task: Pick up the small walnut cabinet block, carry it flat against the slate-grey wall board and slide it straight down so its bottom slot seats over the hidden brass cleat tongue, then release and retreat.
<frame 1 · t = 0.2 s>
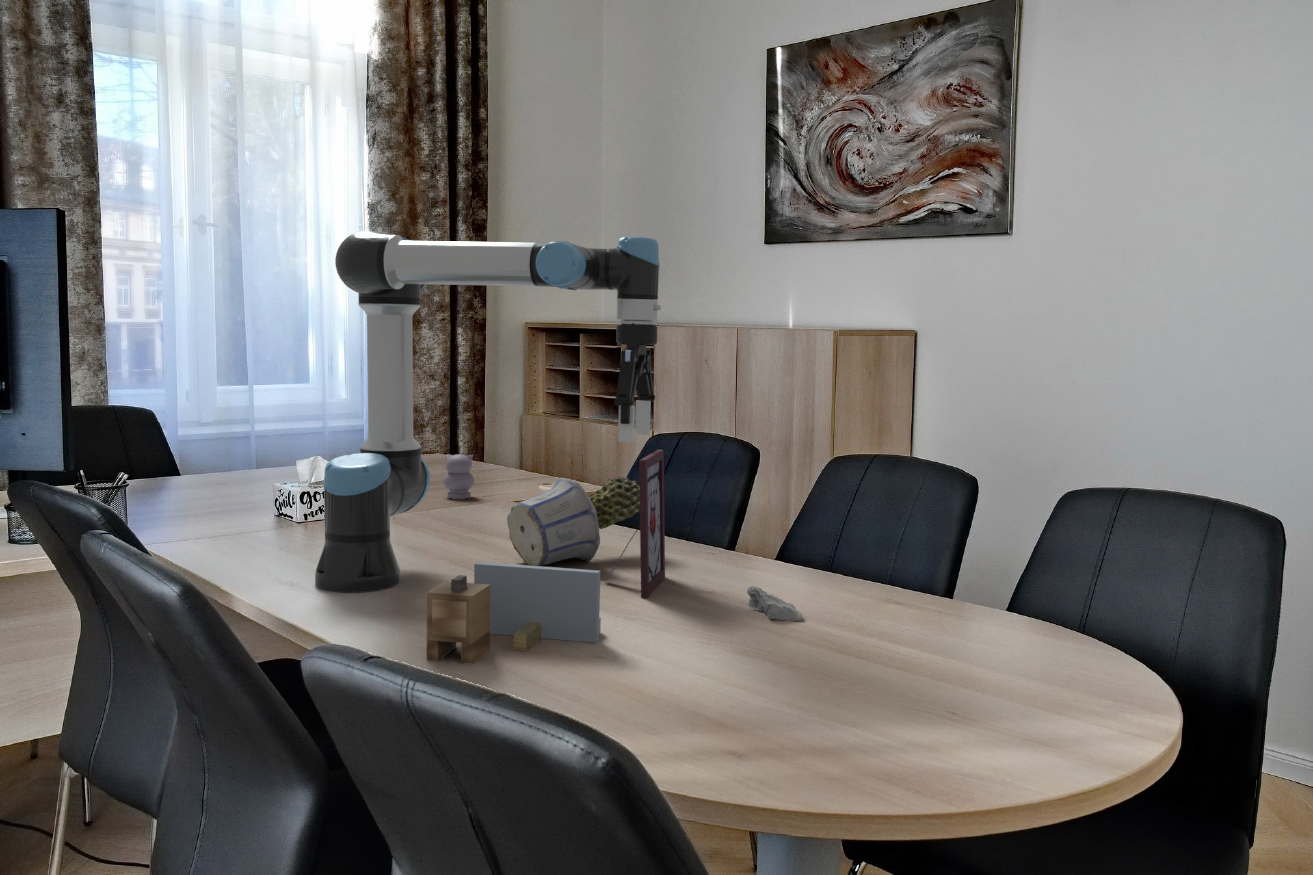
hand: (634, 438, 198), 28 cm above the table, fingers open, 13 cm apart
potted plant: (581, 559, 223), on the table
cat figurine: (458, 498, 295), on the table
wall board: (536, 636, 168), on the table
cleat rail: (527, 643, 164), on the table
stone: (773, 616, 184), on the table
cabinet block: (458, 654, 158), on the table
picture frame: (631, 586, 201), on the table
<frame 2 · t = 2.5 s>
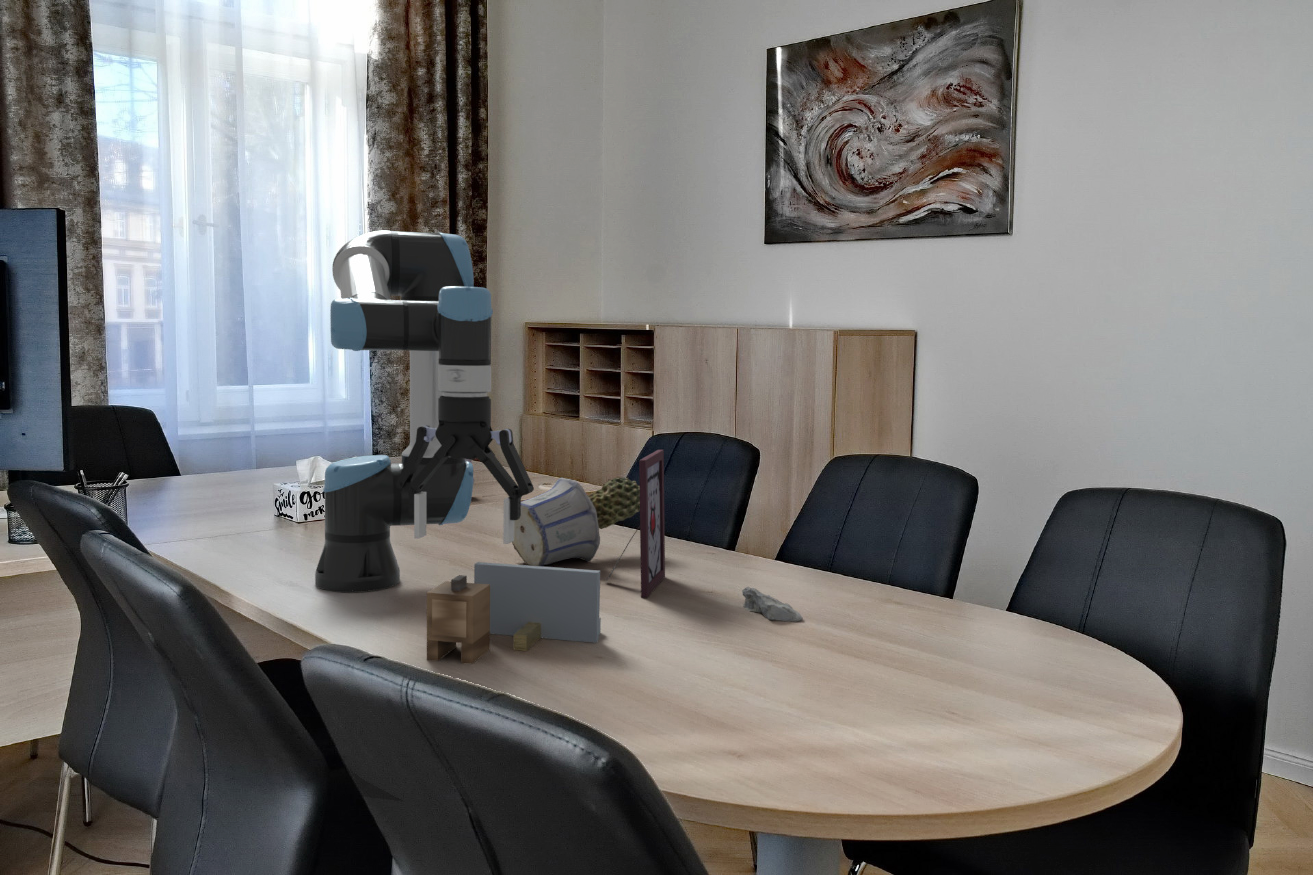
hand: (464, 539, 157), 17 cm above the table, fingers open, 13 cm apart
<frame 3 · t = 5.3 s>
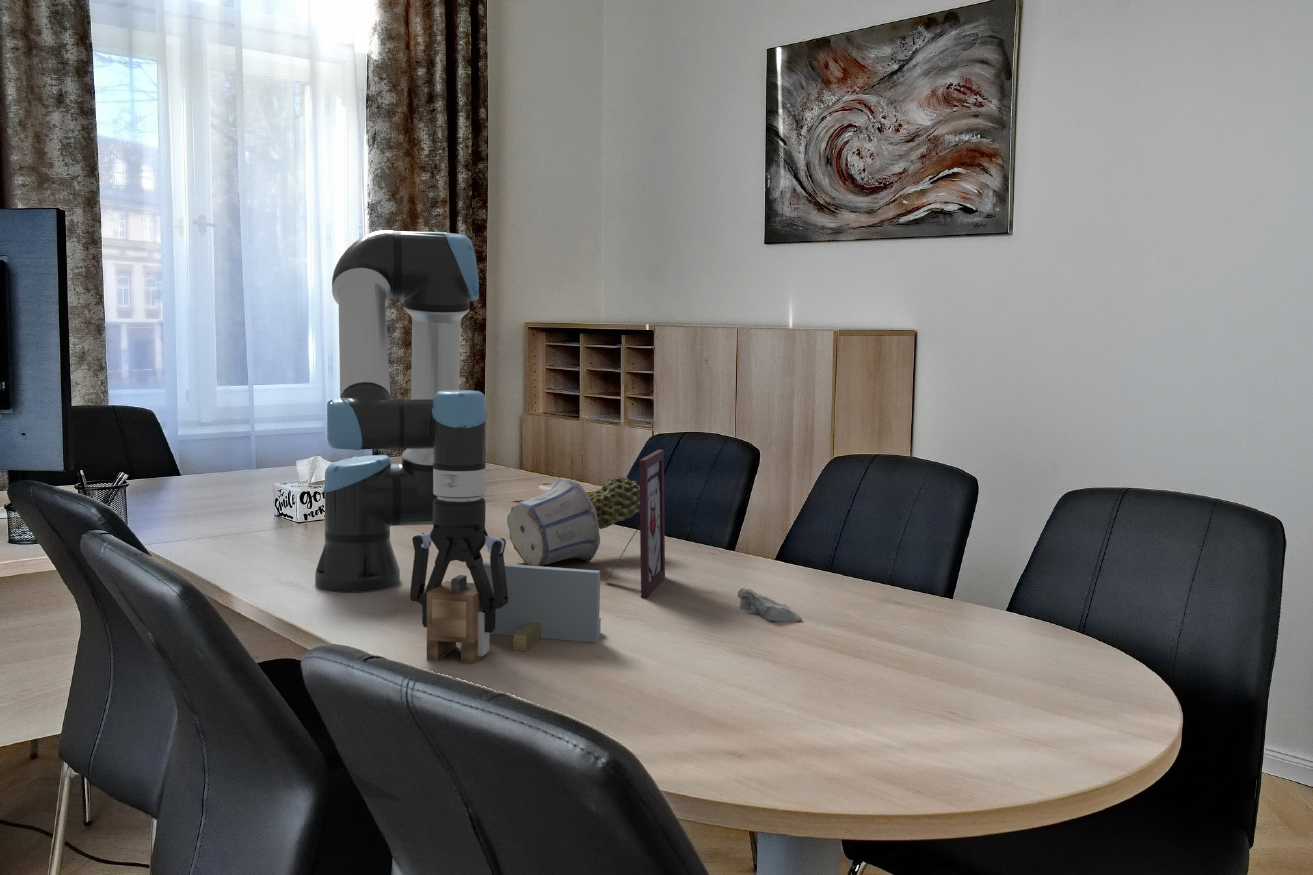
hand: (458, 650, 158), 1 cm above the table, fingers closed on cabinet block, 7 cm apart
cabinet block: (458, 654, 158), on the table, touching gripper
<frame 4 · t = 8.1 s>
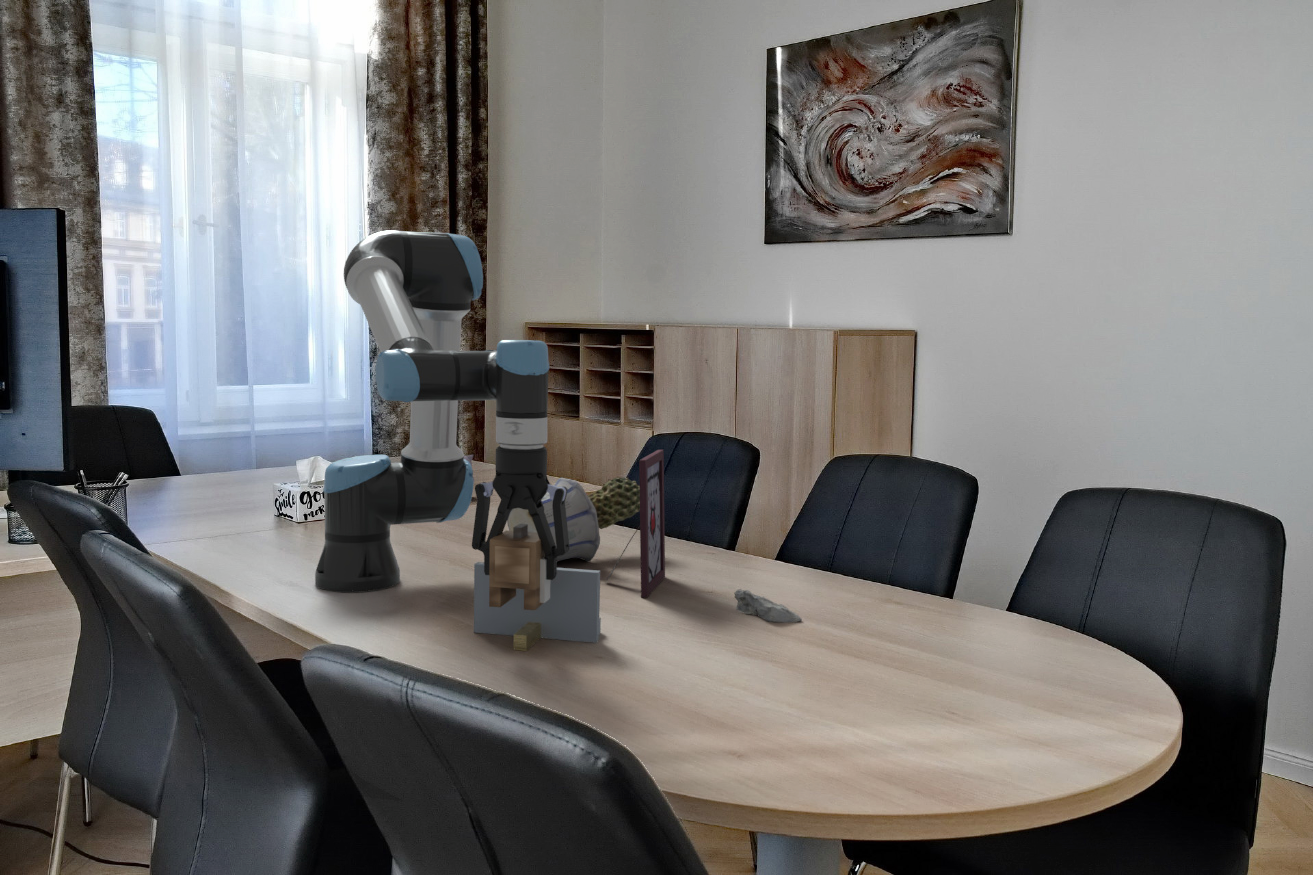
hand: (519, 598, 159), 8 cm above the table, fingers closed on cabinet block, 7 cm apart
cabinet block: (519, 602, 159), point 7 cm above the table, touching gripper
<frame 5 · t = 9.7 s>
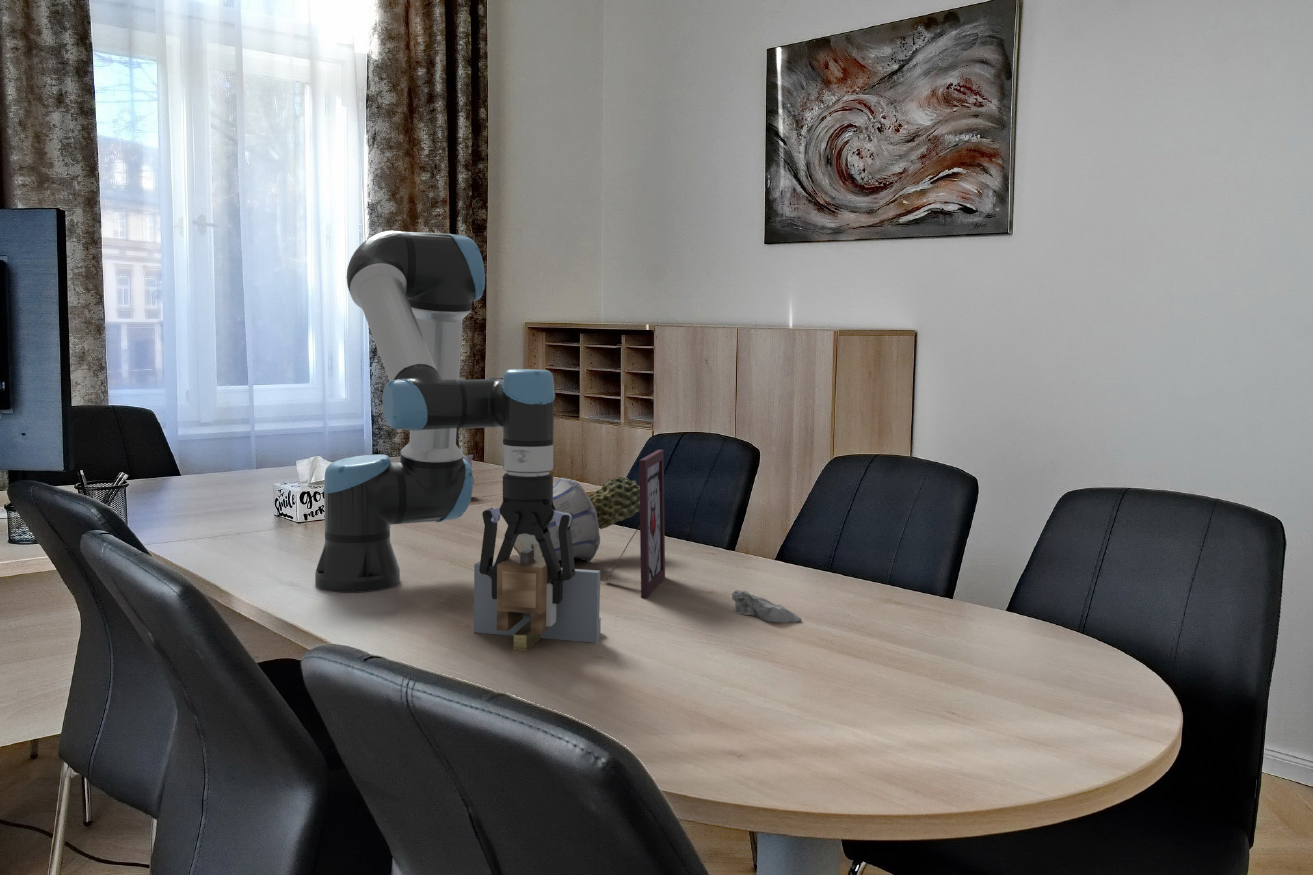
hand: (526, 621, 163), 4 cm above the table, fingers closed on cabinet block, 7 cm apart
cabinet block: (526, 625, 163), point 3 cm above the table, touching gripper
when the fingers open (1 cm above the table, at t = 11.2 s): cabinet block stays where it is, on the table.
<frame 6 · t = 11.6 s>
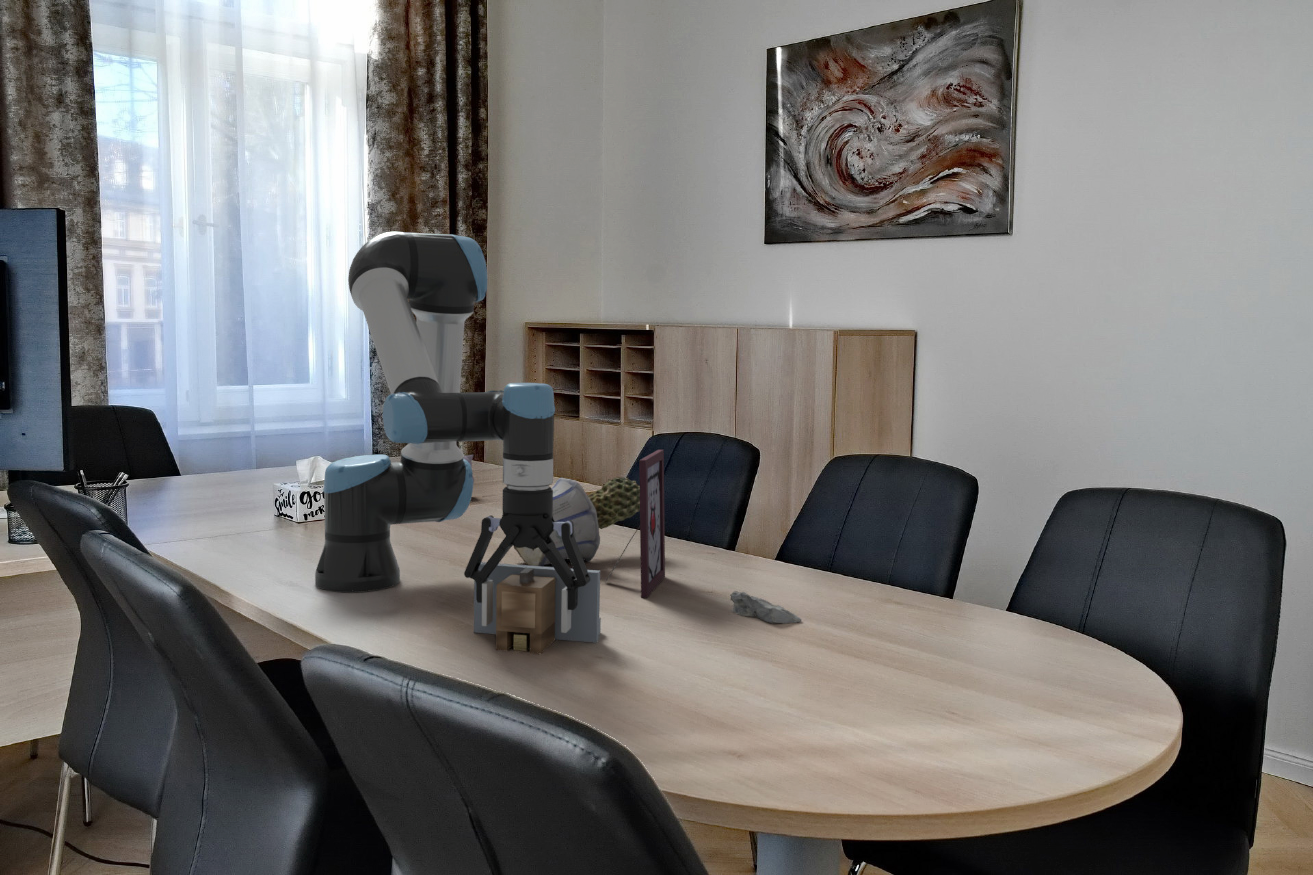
hand: (526, 627, 163), 3 cm above the table, fingers open, 12 cm apart
cabinet block: (525, 645, 163), on the table
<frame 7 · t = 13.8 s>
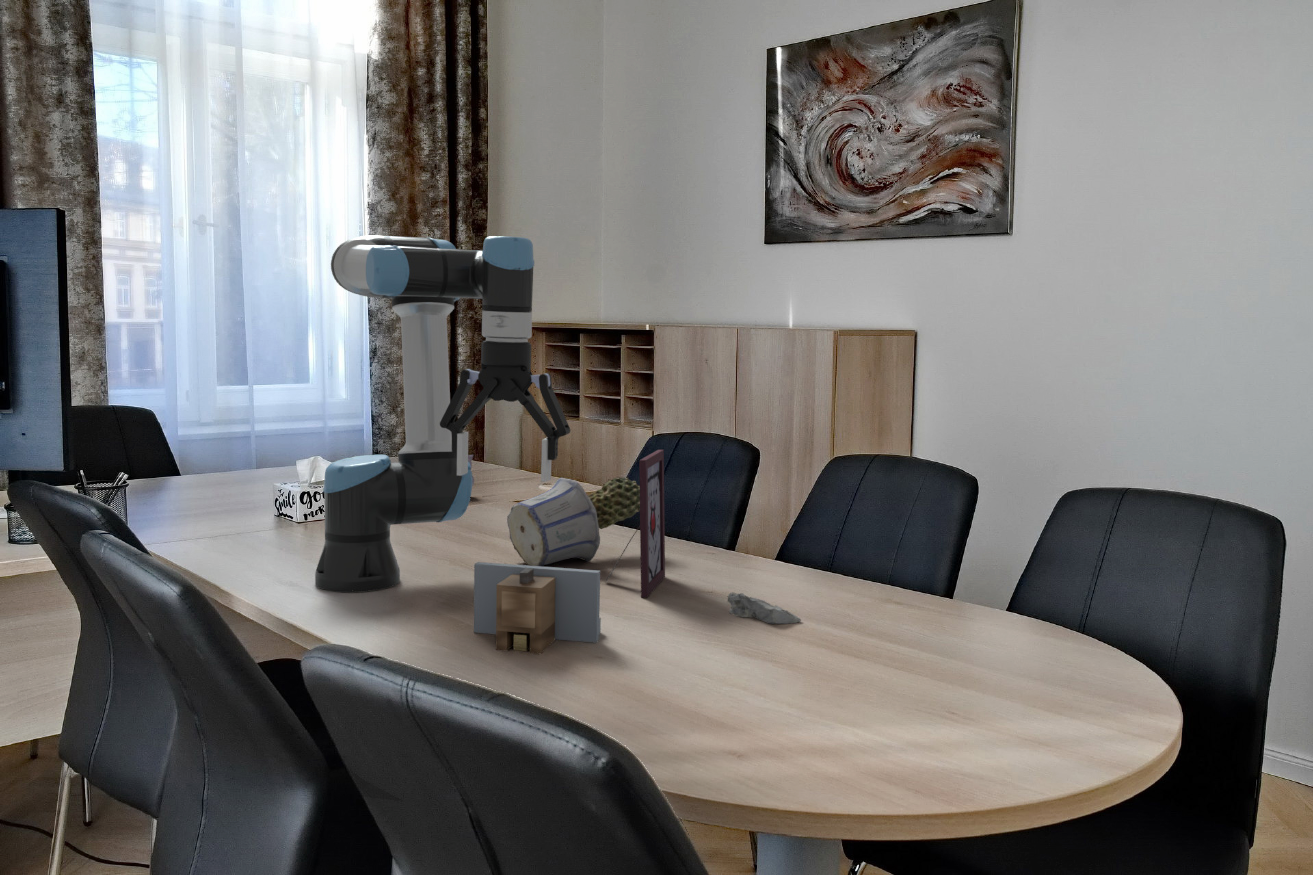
hand: (503, 477, 165), 25 cm above the table, fingers open, 13 cm apart
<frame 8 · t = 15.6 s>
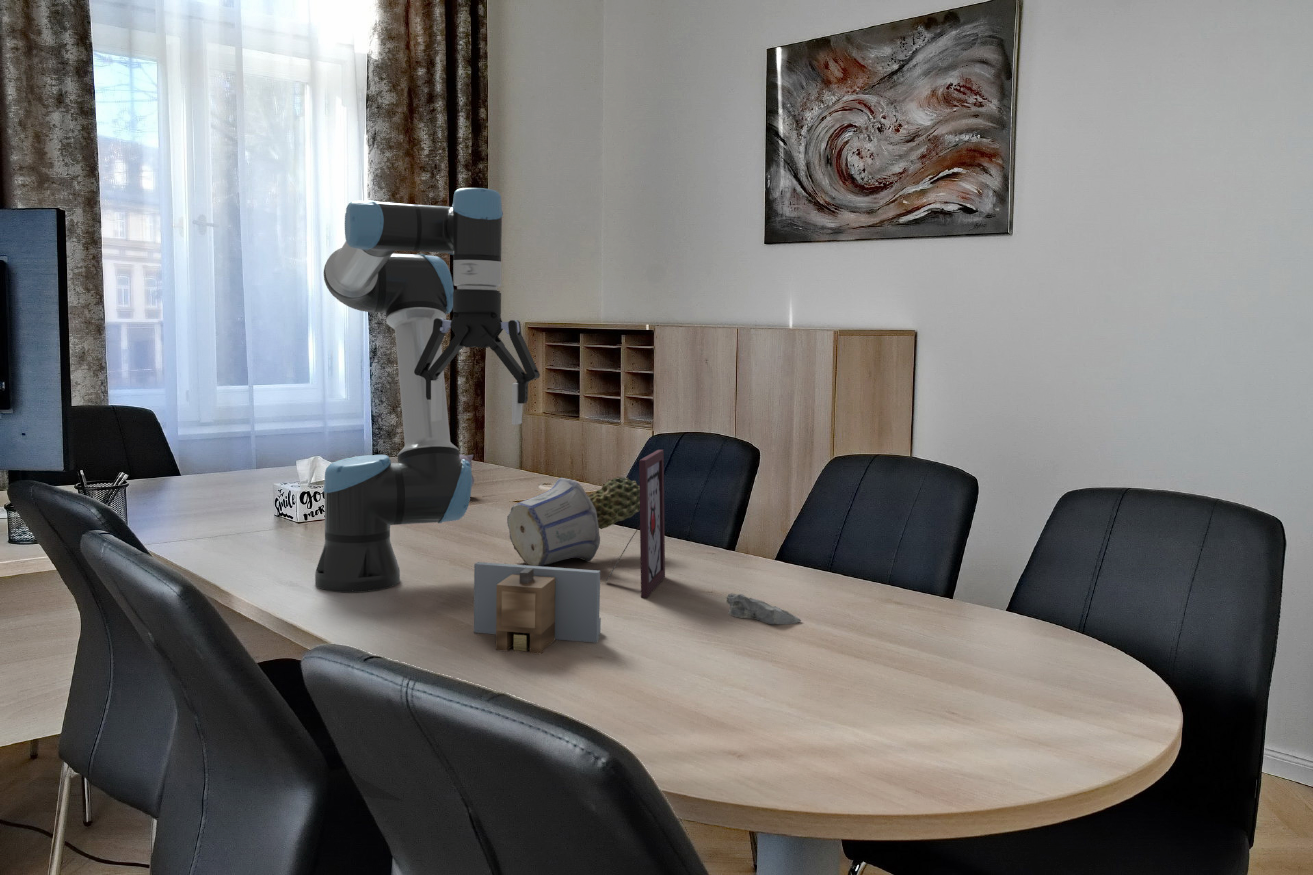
hand: (476, 422, 171), 33 cm above the table, fingers open, 13 cm apart
at the end: cabinet block 0.2 cm off-centre on the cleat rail, point 0.0 cm above the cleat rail's base; cabinet block tilted 0°; the gripper is holding nothing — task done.
